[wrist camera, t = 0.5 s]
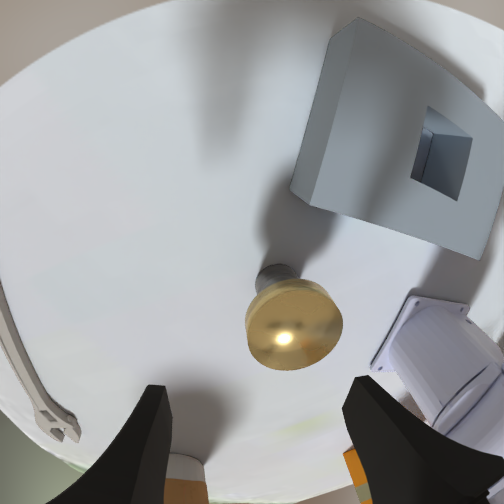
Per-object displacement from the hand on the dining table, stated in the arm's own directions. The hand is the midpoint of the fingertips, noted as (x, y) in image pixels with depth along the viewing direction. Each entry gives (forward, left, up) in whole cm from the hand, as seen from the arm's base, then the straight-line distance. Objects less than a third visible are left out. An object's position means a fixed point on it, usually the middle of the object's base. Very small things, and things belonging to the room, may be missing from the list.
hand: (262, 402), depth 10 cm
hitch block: (-8, -12, -9) cm, 17 cm away
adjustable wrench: (+18, +14, -10) cm, 25 cm away
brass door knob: (-2, -1, -9) cm, 10 cm away
